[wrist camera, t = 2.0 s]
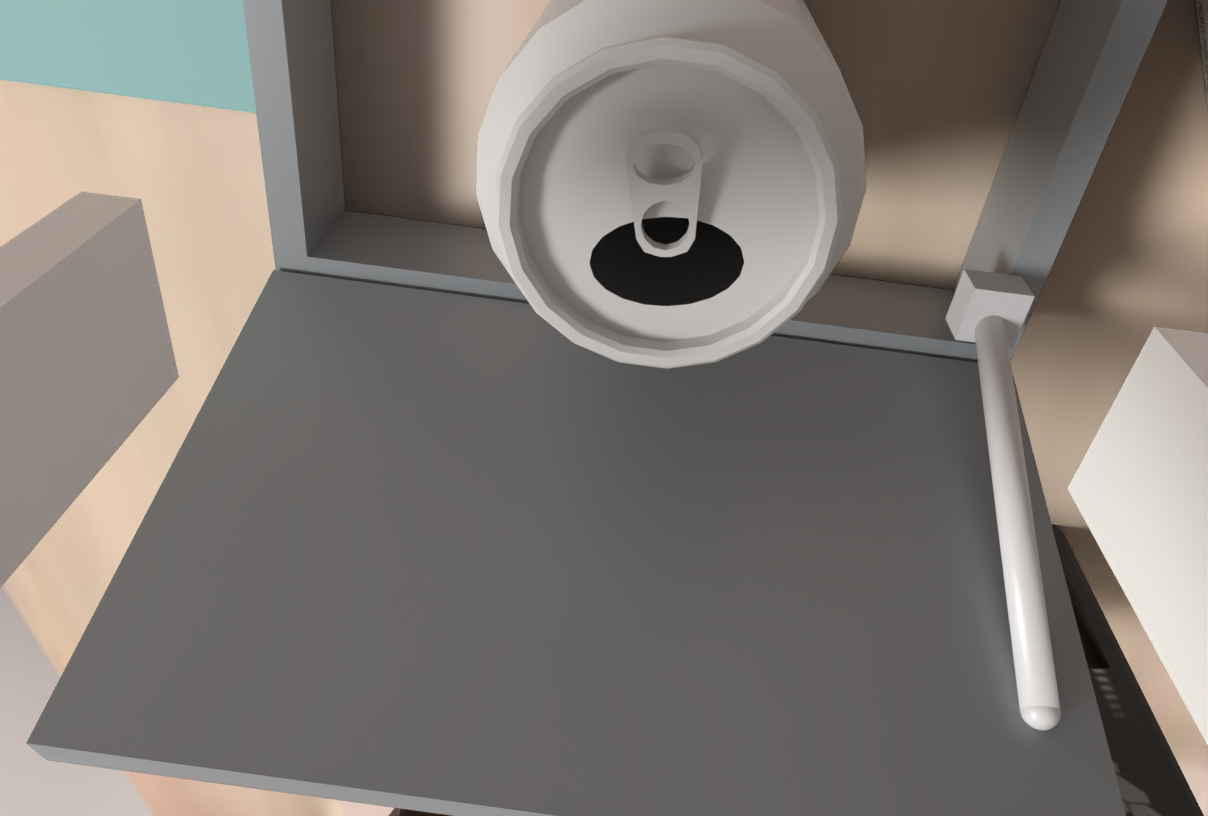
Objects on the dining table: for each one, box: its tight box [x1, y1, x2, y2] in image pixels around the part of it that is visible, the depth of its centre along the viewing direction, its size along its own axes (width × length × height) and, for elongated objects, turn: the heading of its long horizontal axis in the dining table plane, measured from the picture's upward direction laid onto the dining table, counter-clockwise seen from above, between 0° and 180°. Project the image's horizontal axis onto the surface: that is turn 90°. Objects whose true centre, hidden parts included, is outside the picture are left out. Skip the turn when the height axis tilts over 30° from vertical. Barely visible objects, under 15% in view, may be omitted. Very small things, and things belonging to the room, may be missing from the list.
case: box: [27, 0, 1168, 816], centre depth 20 cm, size 22×18×17 cm
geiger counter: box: [1052, 525, 1204, 816], centre depth 30 cm, size 10×4×15 cm, turn 92°
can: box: [476, 0, 866, 369], centre depth 21 cm, size 8×8×12 cm
